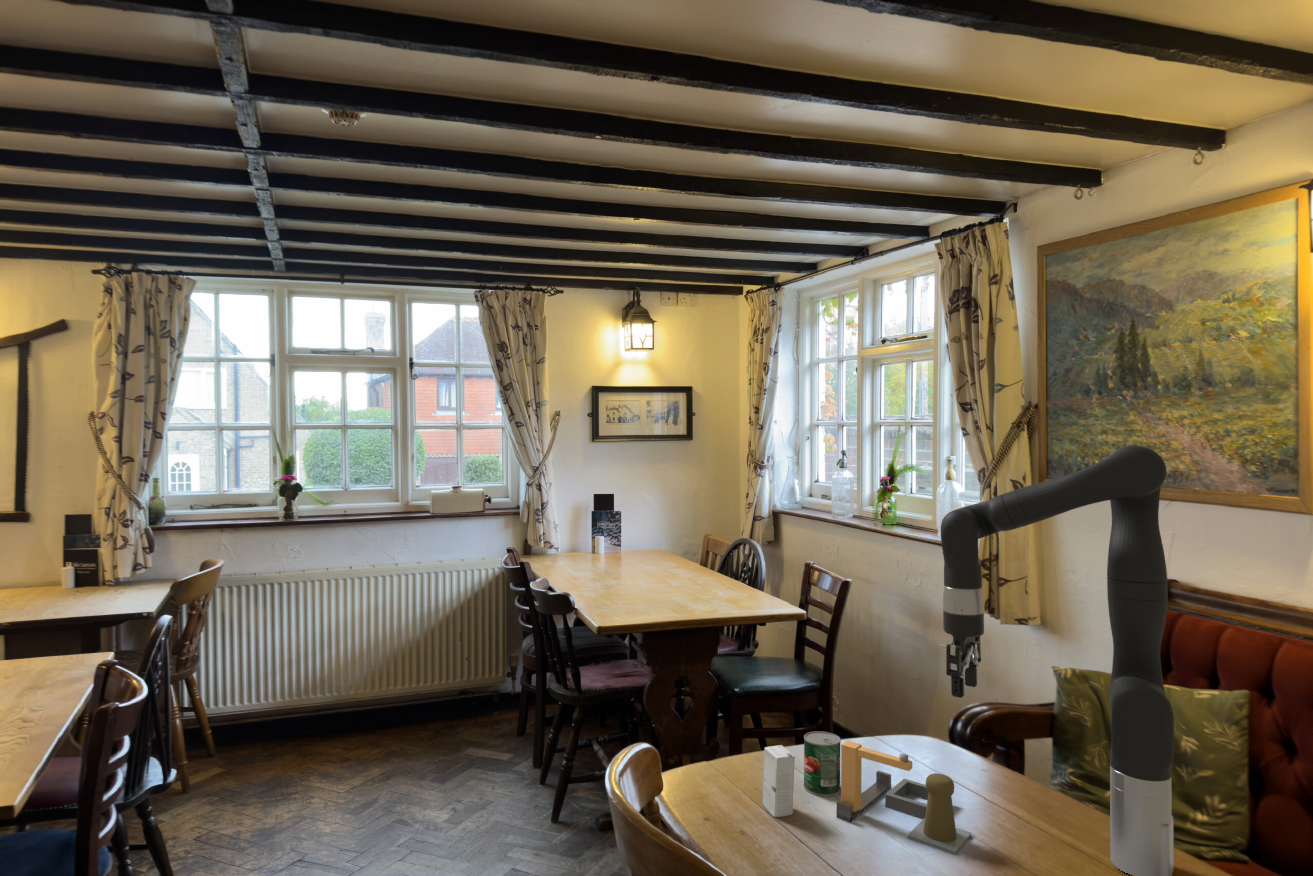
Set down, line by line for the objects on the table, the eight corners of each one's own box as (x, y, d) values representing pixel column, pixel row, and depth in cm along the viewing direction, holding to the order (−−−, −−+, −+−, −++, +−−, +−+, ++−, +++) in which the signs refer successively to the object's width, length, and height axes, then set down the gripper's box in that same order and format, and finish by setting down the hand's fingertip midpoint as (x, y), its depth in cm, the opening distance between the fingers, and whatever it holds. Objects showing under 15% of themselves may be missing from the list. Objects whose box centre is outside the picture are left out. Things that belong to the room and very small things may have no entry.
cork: (959, 844, 140) (959, 784, 140) (925, 840, 141) (925, 781, 142) (954, 828, 146) (954, 771, 146) (921, 824, 147) (921, 768, 148)
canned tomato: (796, 786, 165) (796, 736, 165) (819, 777, 170) (819, 728, 170) (824, 800, 159) (824, 747, 159) (848, 790, 164) (848, 739, 164)
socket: (950, 804, 157) (950, 792, 157) (933, 822, 150) (933, 809, 150) (904, 790, 164) (904, 778, 164) (885, 806, 156) (885, 794, 156)
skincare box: (761, 804, 156) (762, 746, 157) (781, 802, 158) (781, 744, 158) (775, 818, 151) (775, 758, 151) (795, 815, 152) (795, 755, 152)
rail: (891, 788, 164) (891, 774, 165) (850, 822, 149) (850, 807, 149) (878, 784, 166) (878, 770, 166) (836, 817, 151) (836, 802, 151)
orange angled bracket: (913, 824, 146) (913, 755, 146) (907, 830, 144) (907, 759, 144) (847, 802, 155) (847, 737, 155) (841, 807, 153) (841, 741, 153)
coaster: (971, 835, 144) (971, 832, 144) (955, 855, 137) (955, 851, 137) (924, 820, 150) (924, 817, 150) (907, 838, 143) (907, 835, 143)
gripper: (972, 618, 141) (973, 704, 141) (993, 605, 152) (994, 686, 152) (932, 613, 146) (933, 696, 146) (955, 601, 157) (956, 679, 157)
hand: (964, 691), depth 149 cm, fingers open, 8 cm apart
